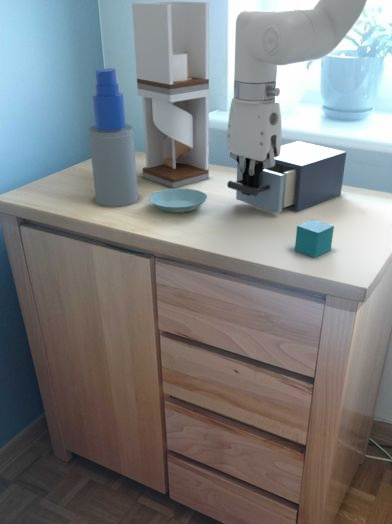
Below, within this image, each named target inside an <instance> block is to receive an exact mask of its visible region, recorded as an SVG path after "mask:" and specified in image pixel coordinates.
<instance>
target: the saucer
mask: <svg viewBox="0 0 392 524" xmlns="http://www.w3.org/2000/svg"><path fill="white" fill-rule="evenodd" d="M207 199H208V195H207V194H206V193H205V192H203V191H200V190H198V189H192V188H168V189H162V190H158V191H156V192H154V193H152V194H150V195H149V197H148V201H149V202H150V203H151V204H152V205H153V206H154V207H156V208H157V209H159V210H160V211H163V212H166V213H170V214H185V213H189V212H191V211H194V210H196V209H198V208H199V207H201V206H202V205H203V204H205V202H206V201H207Z"/></svg>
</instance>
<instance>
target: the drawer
mask: <svg viewBox="0 0 392 524" xmlns="http://www.w3.org/2000/svg"><path fill="white" fill-rule="evenodd" d="M257 163H258V162H257ZM242 174H243V173H241V172H240V166H239V164H238V163H237V165H236V181H234V180H229V181H228V182H227V184H226V185H227V188H228V189H232V190H234V191H236V192H235V194H236V196H235V199H236V200H238V201H240V202H243V203H246V204H248V205H249V204H250V205H253V206H255V207H259V208H262V209H264V210H268V211H270V212H274V213H276V214H279V213H282V212H283V209H285V208H284V207H287V206H290V205H292V204H295V198H296V187H297V176H298V169H295V168H292V167H288V166H284V165H280V164H277V163H275V166H274V167H271V168H265V169H264V170H263V172H262V173H260V178H259V188H258V189H256V188H253V187H250V186H247V185H243V184H242ZM242 192H244V193H247V194H250V195H249V196H248V195H246V194H242Z"/></svg>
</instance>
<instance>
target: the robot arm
mask: <svg viewBox="0 0 392 524" xmlns="http://www.w3.org/2000/svg"><path fill="white" fill-rule="evenodd" d="M367 1H368V0H318V2H317V3H316V4H315V6H314V7H313V8H306V9H294V10H286V11H285V10H284V11H274V10H269V9H268V10H267V9H252V10H250V9H249V10H244V11H241V12H240V13H239V14H237V17H236V20H235V38H234V39H235V40H234V41H235V43H234V75H233V76H234V79H233V98H231V101H230V102H231V103H230V106H229V113H228V121H227V122H228V123H227V134H226V135H227V137H226V139H227V141H226V142H227V150H228V151H229V157H230V158H231V159H232V160H234V161H236V162H237V164H239V166H240V172H241V173H243V174H242V184H243V185H247V186H250V187H253V188H256V189H258V188H259V178H260V173H262V172H263V170H264V169H265V168H271V167H274V166H275V157H278V156H279V155H280V152H281V146H282V113H281V106H280V101H279V100H276V99H277V97H278V96H279V95H280V92H281V89H280V88H279V87H278V74H279V73H278V71H279V66H288V65H297V64H301V63H306V62H314V61H318V60H319V61H320V60H321V59H324V58H325V57H327V56H328V55H330V54H331V53H332V52H333V51H334V50H335V49H336V48H337V47H338V46H339V45H340V43H341V42H342V41H343V39H344V38H345V37H346V36H347V34H349V32H350V31H351V29H352V28H353V27H354V25H355V24H356V23H357V21H358V20H359V18H360V16H361V15H362V13H363V11H364V8H365V6H366V4H367ZM257 162H258V163H257ZM242 194H246V195H248V196H249V195H250V194H247V193H244V192H242Z"/></svg>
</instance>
